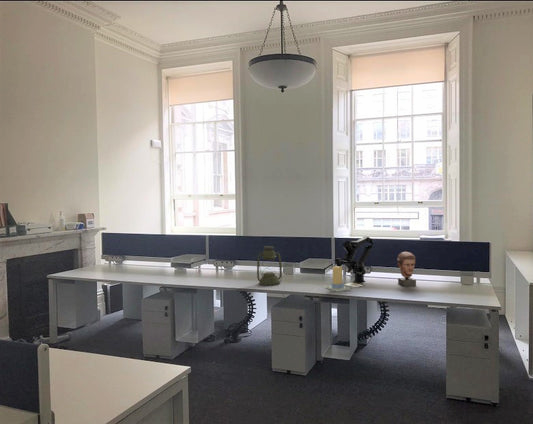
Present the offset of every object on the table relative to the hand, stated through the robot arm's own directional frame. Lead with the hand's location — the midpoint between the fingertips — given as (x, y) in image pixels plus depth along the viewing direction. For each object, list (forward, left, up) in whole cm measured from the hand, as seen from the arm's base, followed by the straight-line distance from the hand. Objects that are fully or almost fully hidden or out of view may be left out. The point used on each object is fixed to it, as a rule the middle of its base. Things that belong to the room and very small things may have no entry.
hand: (342, 271), depth 354 cm
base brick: (+7, +3, -12) cm, 14 cm away
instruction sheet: (-11, -1, -12) cm, 16 cm away
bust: (-45, +21, -12) cm, 51 cm away
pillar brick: (+7, +3, -8) cm, 11 cm away
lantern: (+41, -41, -12) cm, 59 cm away
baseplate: (+7, +3, -12) cm, 14 cm away
